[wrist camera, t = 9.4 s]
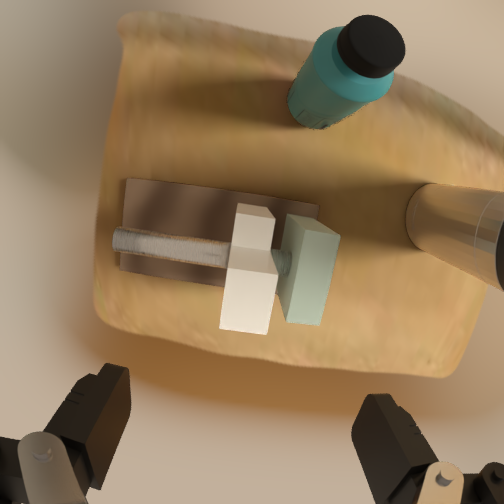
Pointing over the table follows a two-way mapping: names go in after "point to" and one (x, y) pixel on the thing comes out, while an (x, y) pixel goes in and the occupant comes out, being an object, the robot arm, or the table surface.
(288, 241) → the mount block
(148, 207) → the pipe board
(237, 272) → the white stepped block
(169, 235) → the steel pipe
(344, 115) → the beverage bottle
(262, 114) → the table surface
